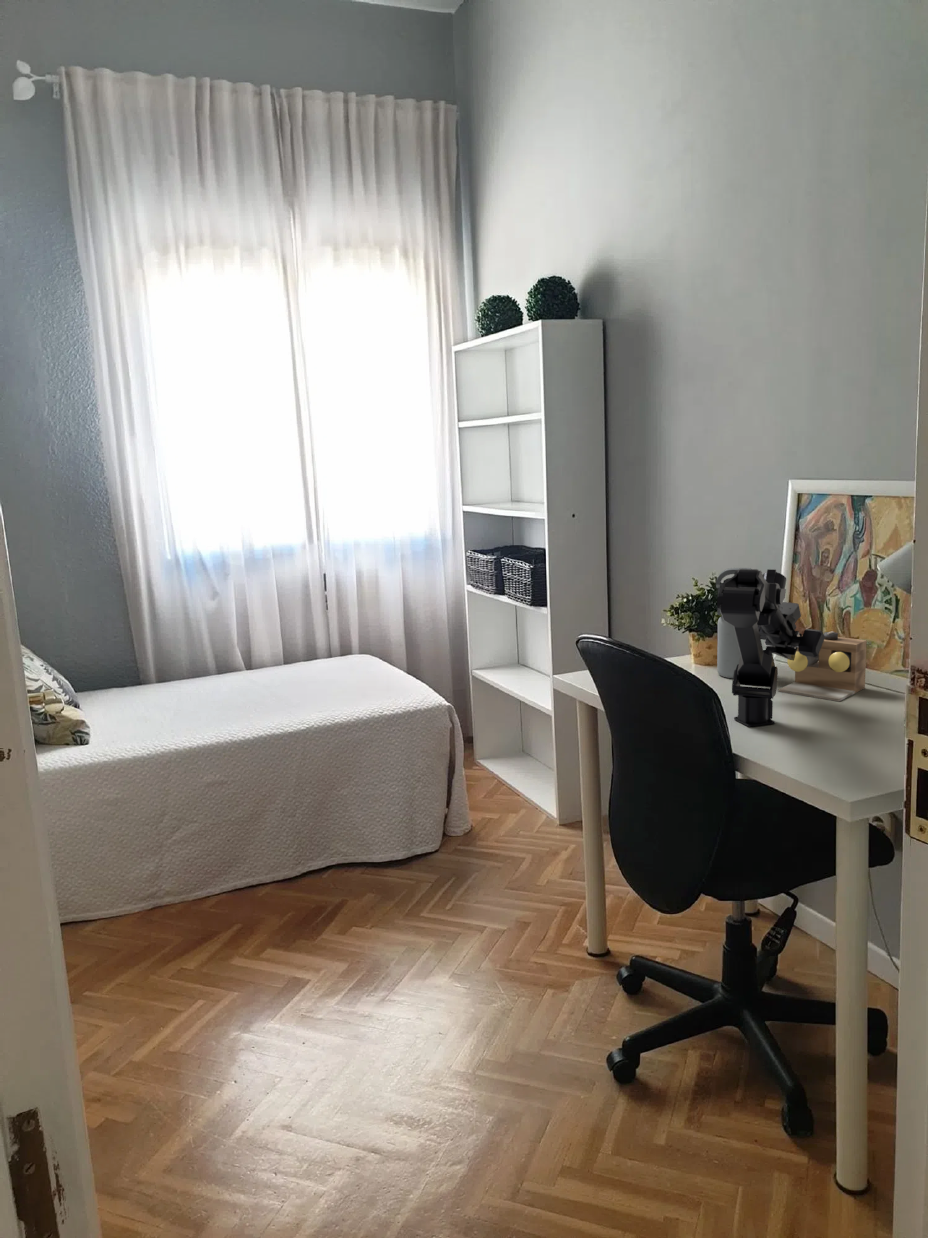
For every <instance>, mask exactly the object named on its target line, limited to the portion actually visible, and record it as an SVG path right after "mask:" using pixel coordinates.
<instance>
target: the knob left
mask: <svg viewBox="0 0 928 1238" xmlns="http://www.w3.org/2000/svg"><path fill="white" fill-rule="evenodd" d="M817 662H819V654H818V656H816V657H810V656H804V655H802V654H800V653H799V652H796V654H795V659H794V661H793V660H789V659H787V666H788V668H789V669H791V670H792V671H793V672H795V671H796V672H800V671H802V670H804V669H805V668H806V667H809V666H811V665H813V664H815V663H817Z"/></svg>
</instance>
